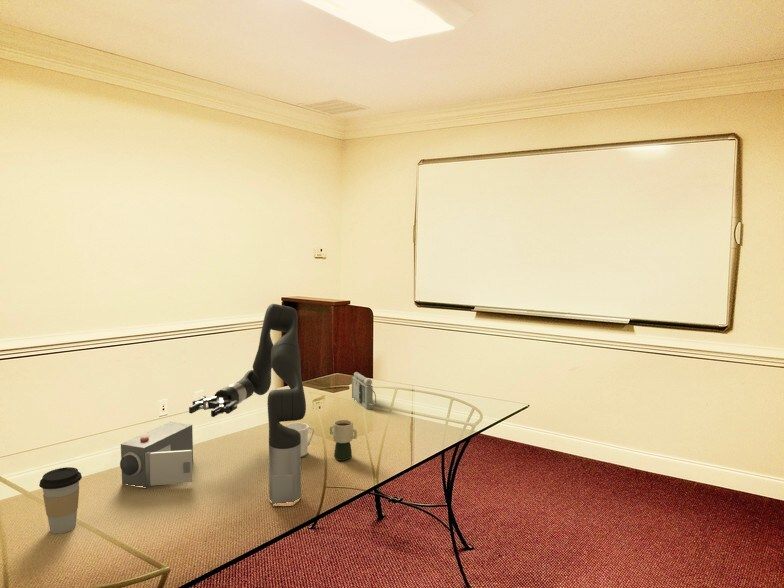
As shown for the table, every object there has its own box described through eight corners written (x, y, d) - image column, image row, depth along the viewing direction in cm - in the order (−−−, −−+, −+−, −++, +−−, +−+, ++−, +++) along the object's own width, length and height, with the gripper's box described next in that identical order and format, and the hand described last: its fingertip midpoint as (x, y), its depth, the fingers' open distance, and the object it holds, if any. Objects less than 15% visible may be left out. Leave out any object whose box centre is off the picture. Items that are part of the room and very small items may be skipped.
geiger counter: (349, 370, 257) (368, 383, 235) (361, 369, 260) (381, 381, 238) (349, 398, 259) (368, 413, 236) (361, 396, 261) (381, 411, 239)
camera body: (171, 457, 184) (170, 419, 183) (194, 461, 181) (193, 422, 180) (116, 487, 161) (115, 443, 160) (141, 492, 158) (140, 447, 157)
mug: (284, 460, 183) (284, 432, 182) (282, 450, 192) (282, 423, 191) (315, 457, 186) (315, 429, 185) (312, 448, 194) (312, 421, 194)
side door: (192, 480, 163) (191, 448, 162) (191, 484, 161) (190, 451, 160) (146, 484, 161) (145, 451, 160) (144, 487, 158) (143, 454, 157)
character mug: (361, 457, 187) (361, 421, 185) (351, 464, 180) (351, 428, 179) (334, 452, 191) (335, 417, 190) (324, 459, 185) (324, 423, 184)
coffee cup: (75, 515, 144) (73, 462, 143) (89, 527, 138) (87, 472, 137) (36, 529, 137) (33, 474, 136) (49, 542, 131) (46, 485, 130)
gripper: (213, 383, 186) (182, 398, 171) (248, 388, 182) (219, 404, 167) (214, 403, 187) (183, 420, 172) (248, 408, 183) (219, 426, 168)
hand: (200, 412), depth 169 cm, fingers open, 8 cm apart
